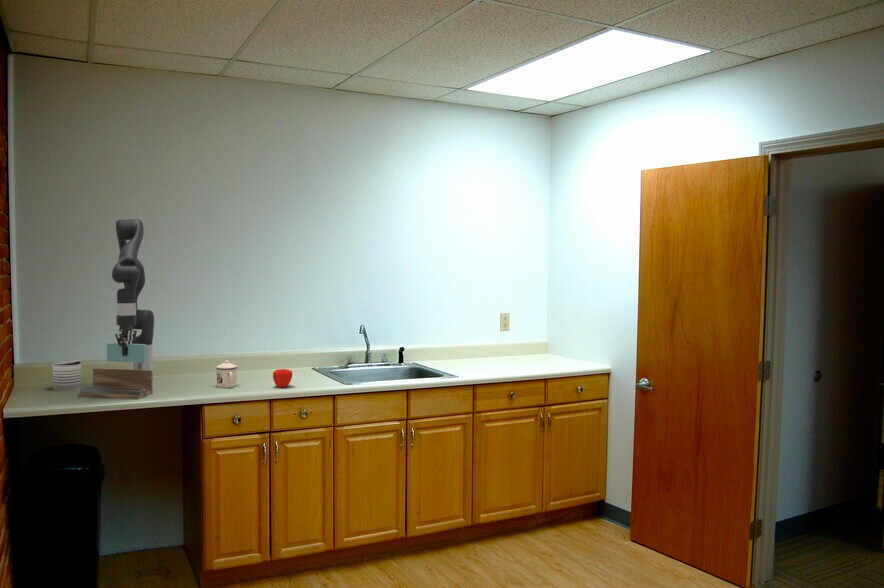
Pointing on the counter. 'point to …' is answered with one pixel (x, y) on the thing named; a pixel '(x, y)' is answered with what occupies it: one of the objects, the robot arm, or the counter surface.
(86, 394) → the brown wooden stand
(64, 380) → the can
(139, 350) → the sliding panel
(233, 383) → the teacup with lid
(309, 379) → the counter surface
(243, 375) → the counter surface
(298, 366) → the counter surface
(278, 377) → the apple
